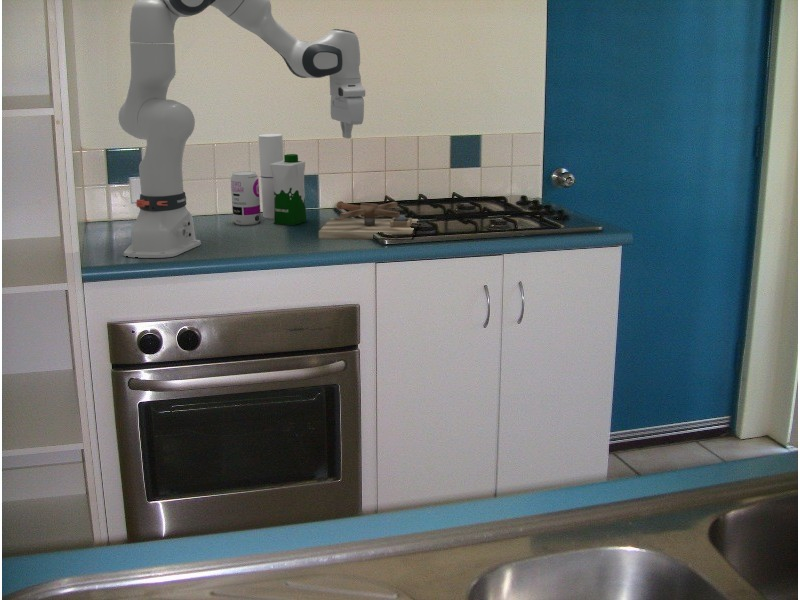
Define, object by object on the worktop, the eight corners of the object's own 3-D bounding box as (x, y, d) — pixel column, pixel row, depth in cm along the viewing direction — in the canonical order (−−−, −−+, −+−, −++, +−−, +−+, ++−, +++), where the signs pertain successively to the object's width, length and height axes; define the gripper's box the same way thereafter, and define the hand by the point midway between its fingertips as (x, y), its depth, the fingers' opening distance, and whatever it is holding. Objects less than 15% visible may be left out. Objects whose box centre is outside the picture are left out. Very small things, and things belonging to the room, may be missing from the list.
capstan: (370, 226, 245) (370, 214, 244) (310, 215, 261) (309, 204, 260) (424, 214, 261) (424, 202, 260) (364, 204, 276) (363, 193, 275)
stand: (412, 239, 252) (411, 223, 250) (318, 238, 254) (318, 222, 253) (418, 225, 269) (418, 210, 267) (330, 224, 272) (330, 209, 270)
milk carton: (310, 220, 278) (307, 154, 272) (293, 226, 270) (290, 158, 264) (286, 218, 282) (283, 153, 276) (269, 224, 274) (265, 157, 268)
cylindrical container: (266, 219, 281) (262, 137, 274) (260, 215, 287) (255, 134, 280) (289, 217, 283) (285, 135, 276) (282, 213, 290) (278, 133, 283)
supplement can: (263, 220, 280) (260, 171, 276) (257, 225, 272) (254, 175, 268) (237, 219, 281) (234, 171, 276) (230, 225, 273) (226, 175, 269)
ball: (405, 226, 258) (405, 216, 258) (395, 226, 259) (395, 216, 258) (406, 224, 261) (406, 214, 260) (396, 224, 262) (396, 213, 261)
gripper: (324, 87, 268) (326, 134, 272) (345, 91, 250) (347, 142, 254) (345, 86, 271) (346, 133, 275) (367, 90, 252) (368, 141, 256)
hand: (346, 137), depth 264 cm, fingers closed
